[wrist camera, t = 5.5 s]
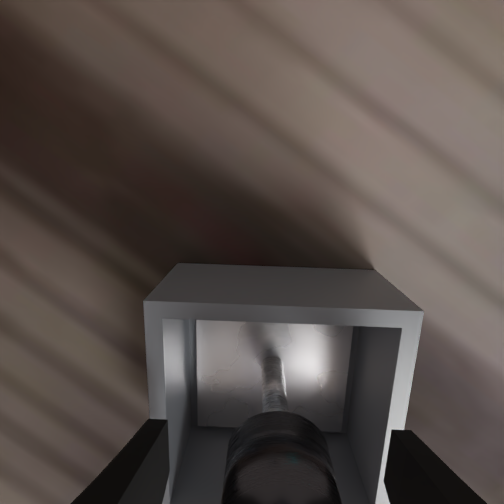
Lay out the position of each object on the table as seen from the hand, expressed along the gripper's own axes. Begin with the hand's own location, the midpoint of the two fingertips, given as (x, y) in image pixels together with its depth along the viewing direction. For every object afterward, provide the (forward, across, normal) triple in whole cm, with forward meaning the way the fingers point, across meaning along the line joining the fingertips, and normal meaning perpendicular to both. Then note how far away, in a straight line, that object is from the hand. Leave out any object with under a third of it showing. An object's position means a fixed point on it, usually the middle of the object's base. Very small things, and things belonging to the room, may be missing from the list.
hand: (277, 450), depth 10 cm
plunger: (+5, 0, 0) cm, 5 cm away
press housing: (+6, 0, 0) cm, 6 cm away
